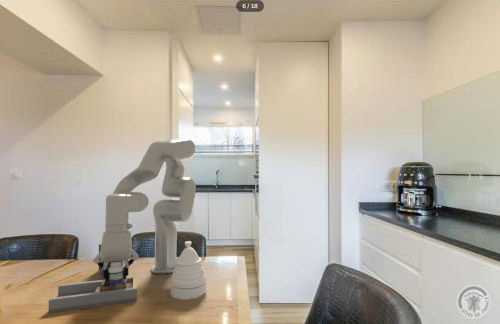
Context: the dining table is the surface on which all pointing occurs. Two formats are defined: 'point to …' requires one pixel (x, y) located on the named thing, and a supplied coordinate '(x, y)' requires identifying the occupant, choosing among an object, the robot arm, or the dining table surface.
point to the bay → (90, 295)
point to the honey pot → (188, 275)
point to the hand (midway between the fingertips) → (116, 278)
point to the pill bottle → (116, 274)
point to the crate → (105, 286)
